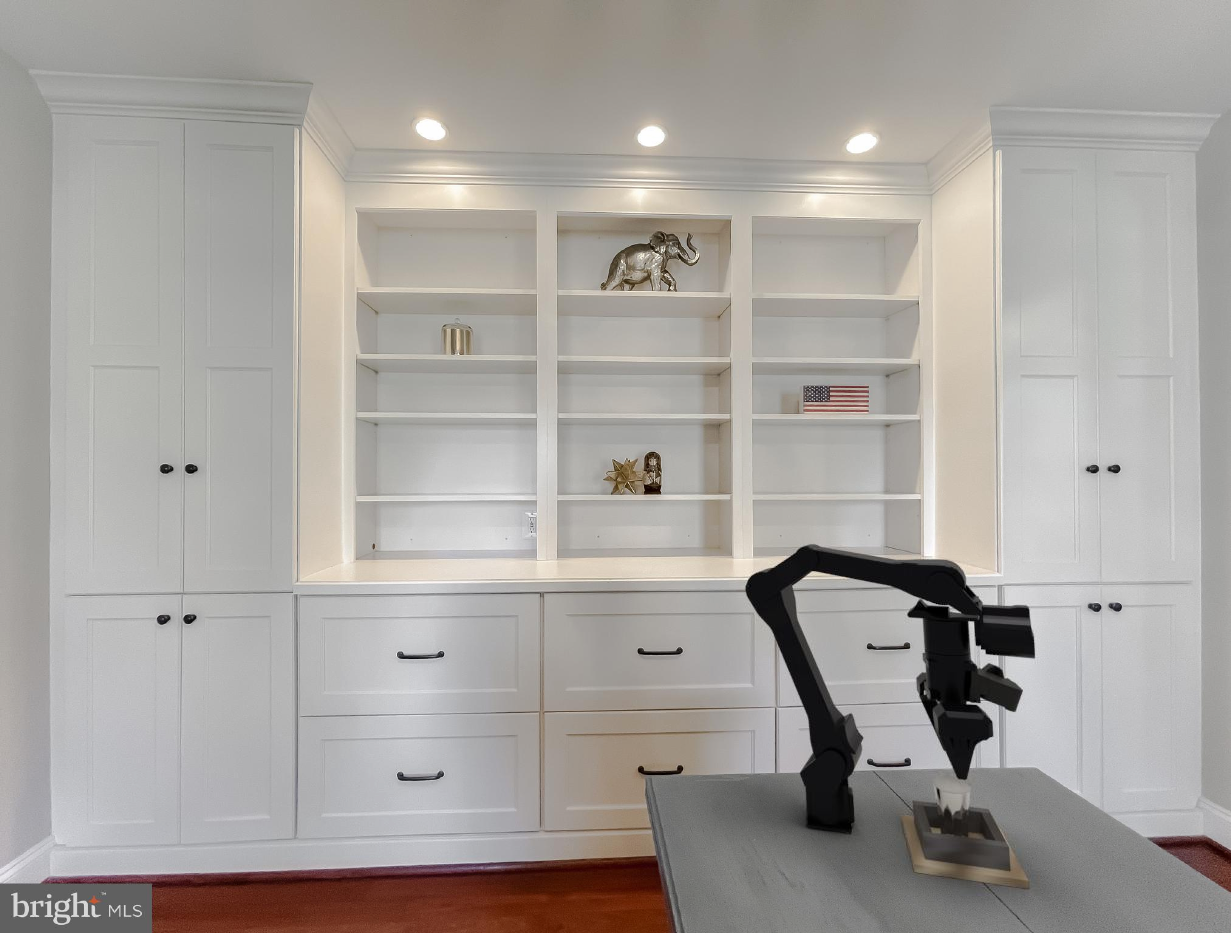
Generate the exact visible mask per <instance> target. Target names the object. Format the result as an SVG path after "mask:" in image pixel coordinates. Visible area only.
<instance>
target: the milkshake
mask: <svg viewBox="0 0 1231 933" xmlns="http://www.w3.org/2000/svg"><path fill="white" fill-rule="evenodd" d="M975 774H976V771H974V770H973V772H972V774H971V777H970V780H969V781H967V780H960V779H958V778H957V776H956V774H952V773H940V774H937V775H936V776H935V777H934V778H933V780H932V784H933V789H934V790H933V791H934V797H935V803H937V809H938V816H939V824H940V831H941V834H946V835H954V836H962V837H968V824H969V807H970V805H971V804H970V803H971V800H970V799H971V784H972V781H973V779H974V778H975V777H974V776H975Z"/></svg>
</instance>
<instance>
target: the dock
mask: <svg viewBox="0 0 1231 933" xmlns="http://www.w3.org/2000/svg"><path fill="white" fill-rule="evenodd" d="M912 814H913V815H908V814H902V813H901V814H900V822H901V825H902V830H903V833H904V836H905V841H906V844H907V848H908V852H909V856H910V859H911V864H912V868H913V872H914V873H916V874H917V873H919V874H925V875H931V876H937V877H938V876H939V877H945V878H951V879H952V878H953V879H959V880H965V881H972V882H977V883H978V882H979V883H985V884H991V885H1000V886H1007V887H1013V888H1020V889H1026V890H1030V881H1029V879H1028V876H1027V875H1026V873H1025V871H1024V870H1023V868H1022V866H1021V864H1020V862H1019V860H1018V859H1017V857H1016V854H1015V853H1014V851H1013V849H1012V847H1011V846H1010V844H1009V842H1008V840H1007V838H1006V837H1005V835H1004V833H1003V831H1002V830H1001V828H1000V826H999V825H998V824H997V823H996V820H995V819H994V818H995V817H993V815H992V813H991V811H990V809H989V808H983V807H982V808H981V807H975V806H974V807H972V806H969V824H968V837H962V836H954V835H946V834H941V831H940V824H939V816H938V809H937V803H936V802H930V801H924V800H923V801H921V800H912Z"/></svg>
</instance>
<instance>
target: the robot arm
mask: <svg viewBox="0 0 1231 933" xmlns="http://www.w3.org/2000/svg"><path fill="white" fill-rule="evenodd" d="M812 572H815V573H820V574H826V575H831V576H836V577H842V578H847V579H852V580H856V581H862V582H866V583H873V584H878V585H882V586H887V587H888V586H889V587H891V588H895V589H897V590H899V591H902V592H904V593H907V594H908V595H910V596H912V597H915V598H918V600H917V602H916V604H915V605H913V607H911V608H910V609H909V610H908V612H907V615H906V616H907V617H908V618H909V619H922V629H923V645H924V646H923V647H924V652H922V661H923V663H924V664H925V672H921V673H920V674H918V676H917V677H915V681H916V682H915V684H916V691H917V692H918V697H919V700H920V701H921V703H922V706H923V708H924V710H925V714H926V715H927V716H928V720H929V721H930V724H931V725H932V728H933V731H934V732H935V735H936V736H937V739H938V741H939V743H940V746H941V748H942V750H943V751H944V752H945V754H946V755H947V758H948V761H949V763H950V765H951V768H952V770H953V772H954V775H955V776H957V778H958V779H960V780H965V781H967V780H968V776H969V772H970V769H971V763H972V760H973V756H974V752H975V749H976V746H977V745H978V744H980V743H981V742H983V741H988V740H989V739H990V738H993V737H994V723H993V720H992V719H991V717H990V716H989V715H988V713H987V712H986V711H985V710H983V708H981V707H980V706H979V704H982V703H981V702H982V700H984V701H987V702H990V703H992V704H994V705H997V706H999V707H1002V708H1004V709H1005V710H1006V711H1009V712H1011V713H1016V712H1017V709H1018V706H1019V704H1020V701H1021V697H1022V695H1023V691H1024V690H1023V689H1022V688H1021V686H1019V685H1018V683H1016V682H1015V681H1013V680H1011V679H1010V678H1008V677H1006V678H1005V675H1004V670H1003V669H1002V668H1001V667H1000V666H999V665H996V664H993V663H989V662H988V663H987V664H985V665H984V666H983V667H982V668H980V667H978V665H977V664H976V663H975V662H974V661H973V660H972V657H971V656H972V655H971V639H970V626H969V624H970V622H971V623H973V624H974V625H973V627H974V628H973V629H974V630H973V631H974V642H975V643H974V644H975V646H976V647H980V650H982V651H985V655H989V656H1000V657H1002V656H1003V657H1010V658H1011V657H1012V658H1023V659H1032V660H1033V659H1034V660H1035V658H1036V646H1035V634H1034V631H1033V628H1032V623H1031V622H1032V621H1031V614H1030V612H1031V611H1030V607H1029V606H1028V605H1026V604H1024V605H1023V604H1013V605H1000V604H999V605H996V604H995V605H993V604H984V603H983V601H982V600H981V599H980V597H979V595H977V594H976V593H975V592H974V591H973V590H972V589H971V588H970V586H968V585H967V576H966V574H965V571H964V570H963V569H962V568H961V566H960V565H958V563H956V562H954V561H952V560H950V559H943V558H942V559H937V558H933V559H931V558H927V559H926V558H924V559H923V558H915V559H912V558H911V559H894V558H889V557H882V556H876V555H870V554H864V553H859V552H853V551H847V550H842V549H841V550H840V549H835V548H829V547H825V546H823V547H822V546H820V545H819V544H815V543H813V544H812V543H810V544H809V543H808V544H807V545H803V546H800V547H799V548H798V549H797V550H796V552H794V553H793V554H791V555H790V556H789V557H787V558H785V559H784V560H782V561H781V562H779V563H778V564H776V565H775V566H774V567H769V568H765V569H763V570H759V571H757V572H755V573H753V574H752V575H750V577H749V578H748V579H747V582H746V584H745V588H744V590H745V595H746V598H747V599H748V601H749V603H750V604H751V605H752V607H753V609H754V610H755V612H756V615H757V616H758V617H759V618H761V620H762V621H763V622H764V623H765V624H766V625H767V626H768V628H770V630H771V632H772V634H773V637H774V639H775V643H776V645H777V647H778V648H779V651H780V653H781V656H782V659H783V661H784V663H785V666H786V668H787V672H788V673H789V675H790V677H791V680H792V682H793V686H794V687H795V690H796V692H797V695H798V697H799V699H800V702H801V704H802V708H803V709H804V711H805V714H806V717H807V720H808V721H807V722H808V730H809V731H808V732H809V733H808V734H809V741H810V742H809V743H810V745H811V751H812V753H811V755H810V757H809V758H808V759H807V761H806V763H805V764H804V765H803V767H802V769H801V770H800V772H799V775H800V778H801V780H802V783H803V786H804V787H805V803H806V804H805V807H806V808H805V827H807V828H810V829H818V830H825V831H832V832H839V833H849V834H851V833H852V832H853V825H852V824H854V823H855V802H854V800H855V799H854V791H853V790H854V789H853V788H852V787H850V786H849V777H850V776H852V775H853V772H854V770H855V769H856V767H857V765H858V762H859V761H860V758H861V755H862V751H863V745H862V742H863V740H864V736H863V735H862V734H861V733H860V731H859V730H858V728H857V725H856V720H855V717H854V715H853V713H848V714H846V715H843V714H842V712H841V711H840V710H839V709H838V708H837V706H836V705H835V703H834V701H833V699H832V697H831V694H830V692H829V689H828V687H827V685H826V683H825V680H824V678H823V675H822V673H821V671H820V669H819V666H818V664H817V662H816V659H815V657H814V655H813V652H812V650H811V647H810V645H809V643H808V641H807V639H806V638H807V637H806V636H805V634H804V631H803V629H802V627H801V624H800V622H799V619H798V614H797V611H798V610H797V602H796V601H797V600H796V595H795V592H794V588H793V586H794V585H796V584H797V583H799V582H800V581H801V580H803V579H804V578H806V576H808V575H809V574H811V573H812ZM925 601H926V602H930V603H932V604H935V605H931V604H930V605H929V604H927V603H926V602H925ZM950 607H951V608H952V609H954V610H956V611H957V612H955V611H954V612H953V611H951V608H950ZM981 699H982V700H981ZM968 702H969V703H971V704H967V703H968Z"/></svg>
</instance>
